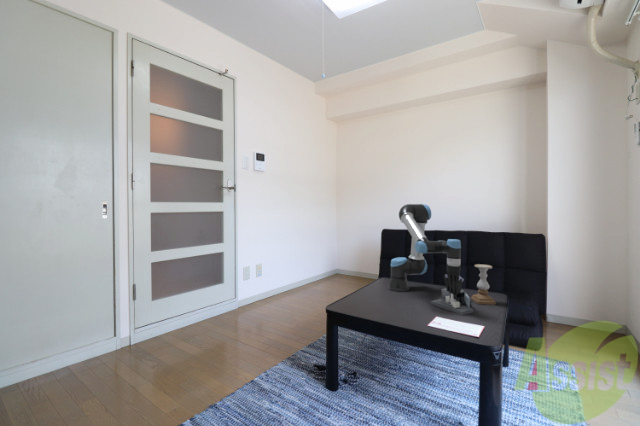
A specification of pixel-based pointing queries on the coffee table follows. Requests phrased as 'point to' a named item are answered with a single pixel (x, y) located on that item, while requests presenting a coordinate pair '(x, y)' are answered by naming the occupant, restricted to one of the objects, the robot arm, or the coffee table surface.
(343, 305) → the coffee table surface
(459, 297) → the cabinet
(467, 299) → the door
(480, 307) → the coffee table surface
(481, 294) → the candle holder
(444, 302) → the console
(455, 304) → the fader
